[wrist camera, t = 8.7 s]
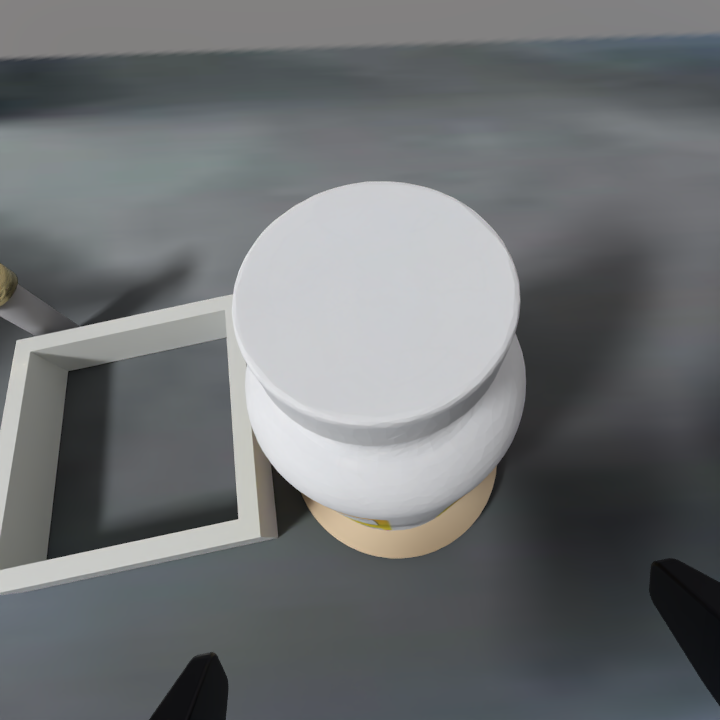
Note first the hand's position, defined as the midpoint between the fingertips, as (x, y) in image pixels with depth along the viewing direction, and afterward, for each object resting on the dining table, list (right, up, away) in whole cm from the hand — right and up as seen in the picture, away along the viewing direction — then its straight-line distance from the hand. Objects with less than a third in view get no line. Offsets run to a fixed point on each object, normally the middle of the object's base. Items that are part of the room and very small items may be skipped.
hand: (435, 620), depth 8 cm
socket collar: (-12, +1, +12) cm, 17 cm away
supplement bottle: (0, +1, +10) cm, 10 cm away
